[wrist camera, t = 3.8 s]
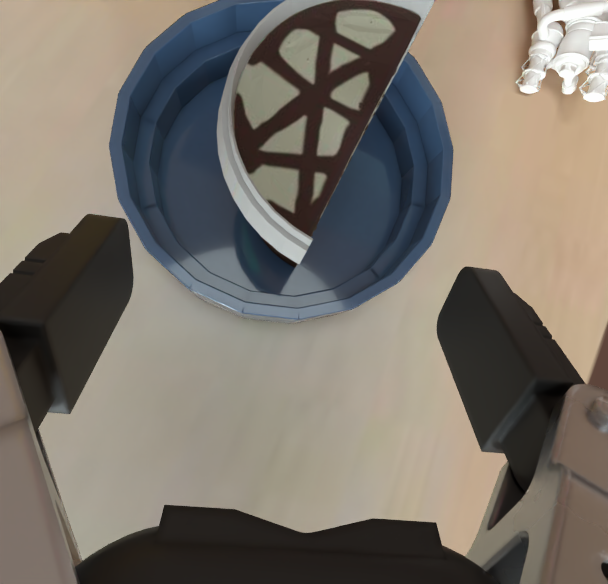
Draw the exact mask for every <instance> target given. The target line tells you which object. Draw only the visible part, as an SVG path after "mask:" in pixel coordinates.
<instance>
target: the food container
mask: <svg viewBox="0 0 608 584" xmlns="http://www.w3.org/2000/svg"><path fill="white" fill-rule="evenodd" d="M434 1H435V0H285V1H284V2H282V3H281V4H279V5H278V6H276V7H275V8H274V9H273V10H272V11H270V12H269V13H268V14H267V15H266V16H265V17H264V18H263V19H262V20H261V21H260V22H259V23H258V25H257V26H256V27H255V29H254V30H253V31H252V32H251V34H250V35H249V36H248V38H247V39H246V41H245V42H244V43H243V45H242V46H241V47H240V49H239V51H238V53H237V55H236V57H235V59H234V61H233V63H232V65H231V67H230V70H229V74H228V77H227V81H226V84H225V88H224V91H223V95H222V99H221V103H220V107H219V112H218V122H217V144H218V155H219V159H220V163H221V167H222V171H223V176H224V178H225V181H226V183H227V185H228V188H229V190H230V192H231V195H232V197H233V199H234V201H235V202H236V204H237V206H238V207H239V209H240V210H241V212H242V214H243V215H244V217H245V218H246V220H247V221H248V222H249V223H250V224H251V225H252V227H253V228H254V229H255V230H256V231H257V232H258V233H259V235H260V236H261V238H262V240H263V241H264V243H265V244H266V245H267V246H268V247H269V248H270V249H271V251H272V252H273V253H274V254H276V255H277V256H278V257H279V258H280V259H282V260H283V261H284V262H286V263H288V264H289V265H291V266H293V267H294V268H295V267H296V266H297V264H300V262H301V260H302V259H303V257H304V255H305V253H306V251H307V250H308V248H309V246H310V244H311V242H312V240H313V238H311V236H313V235H312V234H313V232H314V231H315V230H316V228H317V224H318V222H319V220H320V218H321V216H322V214H323V212H324V210H325V208H326V207H327V206H328V204H329V203H330V199H331V197H332V195H333V193H334V191H335V189H336V187H337V185H338V183H339V181H340V179H341V177H342V175H343V173H344V171H345V169H346V168H347V166H348V164H349V162H350V161H351V159H352V156H353V154H354V152H355V150H356V148H357V146H358V145H359V143H360V140H361V138H362V136H363V135H364V134H365V131H366V130H367V128H368V125H369V123H370V121H371V119H372V118H373V116H374V115H375V112H376V110H377V108H378V106H379V104H380V103H381V101H382V99H383V97H384V95H385V93H386V91H387V89H388V88H389V86H390V84H391V82H392V80H393V78H394V76H395V74H396V73H397V71H398V69H399V67H400V65H401V63H402V61H403V59H404V58H405V56H406V54H407V52H408V50H409V48H410V46H411V44H412V43H413V41H414V39H415V37H416V35H417V33H418V31H419V29H420V28H421V26H422V24H423V22H424V20H425V18H426V16H427V14H428V13H429V11H430V9H431V7H432V5H433V3H434Z"/></svg>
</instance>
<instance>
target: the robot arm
mask: <svg viewBox="0 0 608 584" xmlns="http://www.w3.org/2000/svg"><path fill="white" fill-rule="evenodd" d="M132 288H133V268H132V258H131V249H130V239H129V230H128V225H127V222H126V220H125V219H123V218H116V217H108V216H101V215H94V214H87V215H86V216H85V217H84V218H83V219H82V220H81V221H80V222H79V224H78V225H77V226H76V227H75V228H74V229H73V230H72V231H71V233H70V234H69V233H59V234H57V235H55V236H53V237H51V238H49V239H47V240H45V241H43V242H41V243H39V244H38V245H37V246H36V247H35V248H34V249H33V250H32V251H31V252H30V253H29V254H28V255H27V256H26V257H25V261H21V262H20V263H19V265H18V266H17V267H16V268H15V269H14V270H13V273H10V274H9V275H8V276H7V277H6V278H5V279H4V280H3V281H2V282H1V283H0V584H608V391H607V390H605V389H602V388H599V387H597V386H593V385H588V384H585V382H584V381H583V380H582V378H581V377H580V375H579V374H578V372H577V371H576V370H575V368H574V367H573V365H572V364H571V363H570V361H569V360H568V358H567V357H566V355H565V354H564V353H563V351H562V350H561V348H560V347H559V345H558V344H557V343H556V341H555V340H553V339H552V335H551V334H550V333H549V331H548V330H547V328H546V327H545V326H542V324H543V323H542V321H541V320H540V318H539V317H538V316H537V314H536V313H535V311H534V310H533V308H532V307H531V306H529V305H528V304H527V303H526V302H525V301H523V300H522V299H521V298H520V297H519V296H518V295H516V294H515V293H513V292H512V290H511V289H510V287H509V286H508V284H507V283H506V281H505V280H504V278H503V277H502V275H501V274H500V273H499V272H498V271H496V270H489V269H482V268H474V267H464V268H463V269H462V270H461V271H460V272H459V274H458V276H457V278H456V280H455V282H454V284H453V286H452V289H451V291H450V293H449V295H448V297H447V299H446V301H445V303H444V305H443V307H442V310H441V312H440V314H439V317H438V321H437V336H438V339H439V342H440V344H441V347H442V350H443V352H444V355H445V357H446V360H447V363H448V365H449V368H450V370H451V373H452V376H453V378H454V381H455V383H456V386H457V389H458V391H459V394H460V396H461V399H462V402H463V404H464V407H465V409H466V412H467V415H468V417H469V420H470V422H471V425H472V428H473V430H474V433H475V435H476V438H477V441H478V443H479V446H480V448H481V451H483V452H494V453H505V456H506V458H507V460H508V461H507V462H506V464H505V465H504V466H503V467H502V469H501V471H500V473H499V476H498V479H497V481H496V484H495V487H494V490H493V492H492V495H491V498H490V501H489V503H488V506H487V509H486V512H485V515H484V517H483V520H482V523H481V526H480V528H479V531H478V534H477V536H476V539H475V541H474V543H473V545H472V547H471V548H470V550H469V551H468V553H467V554H466V556H463V555H461V554H459V553H457V552H455V551H453V550H451V549H449V548H447V547H445V546H442V544H441V540H440V536H439V532H438V528H437V524H436V523H432V522H417V521H402V520H387V519H369V520H365V521H360V522H356V523H352V524H347V525H343V526H339V527H335V528H330V529H326V530H322V531H317V532H313V533H301V532H298V531H295V530H292V529H289V528H286V527H283V526H280V525H278V524H275V523H272V522H269V521H266V520H263V519H261V518H258V517H255V516H252V515H249V514H246V513H243V512H241V511H238V510H235V509H220V508H205V507H190V506H174V505H164V509H163V513H162V517H161V521H160V525H159V526H156V527H152V528H147V529H144V530H141V531H138V532H135V533H132V534H130V535H127V536H125V537H123V538H121V539H119V540H116V541H114V542H112V543H110V544H108V545H107V546H105V547H103V548H102V549H100V550H98V551H97V552H95V553H93V554H92V555H90V556H89V557H87V558H86V559H85V560H83V561H82V558H81V555H80V552H79V549H78V546H77V543H76V540H75V537H74V534H73V531H72V529H71V526H70V523H69V520H68V517H67V514H66V511H65V508H64V505H63V502H62V499H61V496H60V493H59V490H58V487H57V484H56V480H55V477H54V474H53V471H52V468H51V465H50V462H49V459H48V456H47V453H46V450H45V446H44V443H43V440H42V437H41V434H40V431H39V429H38V428H39V426H40V425H41V423H42V421H43V419H44V418H45V416H46V414H47V412H52V413H64V414H70V413H71V411H72V409H73V407H74V405H75V404H76V402H77V400H78V398H79V396H80V394H81V392H82V390H83V388H84V386H85V384H86V382H87V381H88V379H89V377H90V375H91V373H92V371H93V369H94V367H95V365H96V363H97V361H98V359H99V357H100V356H101V354H102V352H103V350H104V348H105V346H106V344H107V342H108V340H109V338H110V336H111V334H112V332H113V331H114V329H115V327H116V325H117V323H118V321H119V319H120V317H121V315H122V313H123V311H124V309H125V307H126V306H127V304H128V302H129V299H130V297H131V293H132Z"/></svg>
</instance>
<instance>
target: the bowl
mask: <svg viewBox="0 0 608 584" xmlns="http://www.w3.org/2000/svg"><path fill="white" fill-rule="evenodd" d="M284 1H285V0H218V1H216V2H213V3H211V4H208V5H206V6H203V7H201V8H198V9H196V10H193V11H191V12H188V13H186V14H185V15H183V16H182V17H181V18H179V19H178V20H177V21H176V22H175V23H174V24H172V25H171V26H170V27H169V28H168V29H166V30H165V31H164V32H163V33H162V34H161V35H159V36H158V37H157V38H156V39H155V40H153V41H152V42H151V43H150V44H149V45H148V46H146V48H145V49H144V50H143V52H142V54H141V55H140V57H139V59H138V60H137V62H136V64H135V66H134V67H133V69H132V71H131V72H130V74H129V76H128V78H127V79H126V81H125V83H124V84H123V86H122V88H121V90H120V91H119V93H118V98H117V104H116V109H115V115H114V120H113V126H112V131H111V137H110V142H109V149H110V155H111V161H112V167H113V172H114V178H115V184H116V190H117V196H118V200H119V202H120V204H121V206H122V208H123V209H124V211H125V213H126V215H127V217H128V219H129V220H130V222H131V224H132V226H133V228H134V229H135V231H136V233H137V235H138V237H139V238H140V240H141V242H142V244H143V246H144V248H145V249H146V250H147V251H148V252H149V253H150V254H151V255H152V256H153V257H154V258H155V259H156V260H157V261H158V262H160V263H161V264H162V265H163V266H164V267H165V268H166V269H167V270H168V271H169V272H170V273H172V274H173V275H174V276H175V277H176V278H177V279H178V280H179V281H180V282H181V283H182V284H184V285H185V286H186V287H187V288H188V289H189V290H190V291H191V292H192V293H194V294H195V295H196V296H197V297H198V298H200V299H202V300H204V301H206V302H208V303H210V304H213V305H215V306H217V307H219V308H221V309H224V310H226V311H228V312H230V313H232V314H235V315H237V316H239V317H241V318H244V319H252V320H261V321H270V322H278V323H287V324H291V323H292V324H293V323H298V322H303V321H308V320H313V319H318V318H323V317H328V316H332V315H337V314H339V313H342V312H346V311H349V310H352V309H354V308H356V307H358V306H359V305H361V304H363V303H364V302H366V301H368V300H370V299H371V298H373V297H375V296H377V295H378V294H380V293H382V292H383V291H385V290H387V289H389V288H390V287H392V286H394V285H396V284H397V283H398V282H400V281H401V279H402V278H403V277H404V276H405V275H406V274H407V273H408V271H409V270H410V269H411V268H412V267H413V266H414V264H415V263H416V262H417V261H418V260H419V259H420V258H421V256H422V255H423V254H424V253H425V252H426V251H427V249H428V248H429V247H430V246H431V244H432V243H433V240H434V238H435V235H436V233H437V230H438V228H439V226H440V223H441V221H442V218H443V216H444V213H445V211H446V208H447V206H448V203H449V201H450V197H451V181H452V165H453V145H452V141H451V138H450V134H449V130H448V126H447V122H446V118H445V114H444V110H443V106H442V102H441V100H440V99H439V97H438V95H437V94H436V92H435V90H434V89H433V87H432V85H431V84H430V82H429V80H428V79H427V77H426V75H425V74H424V72H423V70H422V69H421V67H420V65H419V64H418V62H417V60H415V58H414V57H413V56H412V55H411V54H410V53H409V52H407V54H406V56H405V58H404V59H403V61H402V63H401V65H400V67H399V69H398V71H397V73H396V74H395V76H394V78H393V80H392V82H391V84H390V86H389V88H388V89H387V91H386V93H385V95H384V97H383V99H382V101H381V103H380V104H379V106H378V108H377V110H376V112H375V115H374V116H373V118H372V119H371V121H370V123H369V125H368V128H367V130H366V131H365V134H364V135H363V136H362V138H361V140H360V143H359V145H358V146H357V148H356V150H355V152H354V154H353V156H352V159H351V161H350V162H349V164H348V166H347V168H346V169H345V171H344V173H343V175H342V177H341V179H340V181H339V183H338V185H337V187H336V189H335V191H334V193H333V195H332V197H331V199H330V203H329V204H328V206H327V207H326V208H325V210H324V212H323V214H322V216H321V218H320V220H319V222H318V224H317V228H316V230H315V231H314V232H313V234H312V235H313V236H311V238H313V240H312V242H311V244H310V246H309V248H308V250H307V251H306V253H305V255H304V257H303V259H302V260H301V262H300V264H297V266H296V267H295V268H294V267H293V266H291V265H289V264H288V263H286V262H284V261H283V260H282V259H280V258H279V257H278V256H277V255H276V254H274V253H273V252H272V251H271V249H270V248H269V247H268V246H267V245H266V244H265V243H264V241H263V240H262V238H261V236H260V235H259V233H258V232H257V231H256V230H255V229H254V228H253V227H252V225H251V224H250V223H249V222H248V221H247V220H246V218H245V217H244V215H243V214H242V212H241V210H240V209H239V207H238V206H237V204H236V202H235V201H234V199H233V197H232V195H231V192H230V190H229V188H228V185H227V183H226V181H225V178H224V176H223V171H222V167H221V163H220V159H219V155H218V144H217V122H218V112H219V107H220V103H221V99H222V95H223V91H224V88H225V84H226V81H227V77H228V74H229V70H230V67H231V65H232V63H233V61H234V59H235V57H236V55H237V53H238V51H239V49H240V47H241V46H242V45H243V43H244V42H245V41H246V39H247V38H248V36H249V35H250V34H251V32H252V31H253V30H254V29H255V27H256V26H257V25H258V23H259V22H260V21H261V20H262V19H263V18H264V17H265V16H266V15H267V14H268V13H269V12H270V11H272V10H273V9H274V8H275V7H276V6H278V5H279V4H281V3H282V2H284Z"/></svg>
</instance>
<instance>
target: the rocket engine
mask: <svg viewBox="0 0 608 584" xmlns="http://www.w3.org/2000/svg"><path fill="white" fill-rule="evenodd" d="M559 7H560V9H557V10H554V11H551V10H552V8H553V4H552V0H533V8H534V15H535V16H536V17H537V23H538V25H537V30H536V31H535V32H534V33H533V34H532V37H531V39H532V46H531V47H530V49H529V58H528V60H529V62H530V65H527V66H529V67H528V68H527V69H524V68H523V66H524V64H525V63H526V62H527V61H528V60H527V61H526V62H525V63H524V64H523V65H522V66H521V68H522V70H523V69H524V70H523V73H522V76H523V77H524V79H522V80H524V81H523V84H522V85H521V84H519V83H518V81H521V80H519V79H520V78H521V77H522V76H521V77H520V78H519V79H518V80H517V81H516V83H517V85H518V84H519V85H518V86H519V88H520V91H522V92H524V93H527V94H531V93H535V92H539V89H540V86H538V83H539V80H541V82H542V79H544V78H545V75H546V72H544V71H543V70H544V67H545V68H546V71H547V69H549V68H552V69H554V70H556V71H557V73H558V74H559V76H560V77H562V78H564V80H563V82H562V93H564V94H572V93H573V92H574V91H575V90H576V88H577V85H576V84H577V82H578V79H579V78H578V76H577V75H578V74H580V73H581V72H582V71H583V70H584V69H586V68H587V67H588V66H589V67H590V68H589V69H592V70H591V71H594V70H595V73H592V74H590V73H588V72H590V71H588V70H589V69H588V70H587V71H585V73H586V74H587V75H588V74H590V75H588V78H587V81H588V82H589V84H587V85H590V86H589V89H588V91H587V93H586V91H585V92H584V91H583V90H582V89H581V88H583V87H585V86H587V85H585V86H583V85H584V84H585V83H586V82H587V81H586V82H585V83H584V84H582V85H581V86H580V87H579V89H580V91H581V93H582V95H583V97H584V98H583V99H585V100H587V101H590V102H599V101H602V100H605V96H606V95H607V93H605V89H606V87H607V85H608V0H559ZM558 20H562V21H564V23H565V24H566V26H565V31H566V34H565V37H564V35H563V28H562V26H561V25H560V24H559V23H557V22H554V21H558ZM558 46H559V48H558V51H557V54H556V48H557V47H558ZM593 51H594V53H593ZM592 53H593V54H592ZM555 54H556V57H555V58H553V57H554V56H555ZM591 56H592V58H591ZM590 58H591V61H590ZM594 60H595V63H594ZM593 63H594V65H596V66H594V65H593ZM524 67H526V66H524ZM540 85H541V83H540ZM582 86H583V87H582ZM537 87H538V88H539V89H537ZM607 92H608V89H607ZM584 94H585V95H584ZM605 94H606V95H605Z"/></svg>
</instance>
